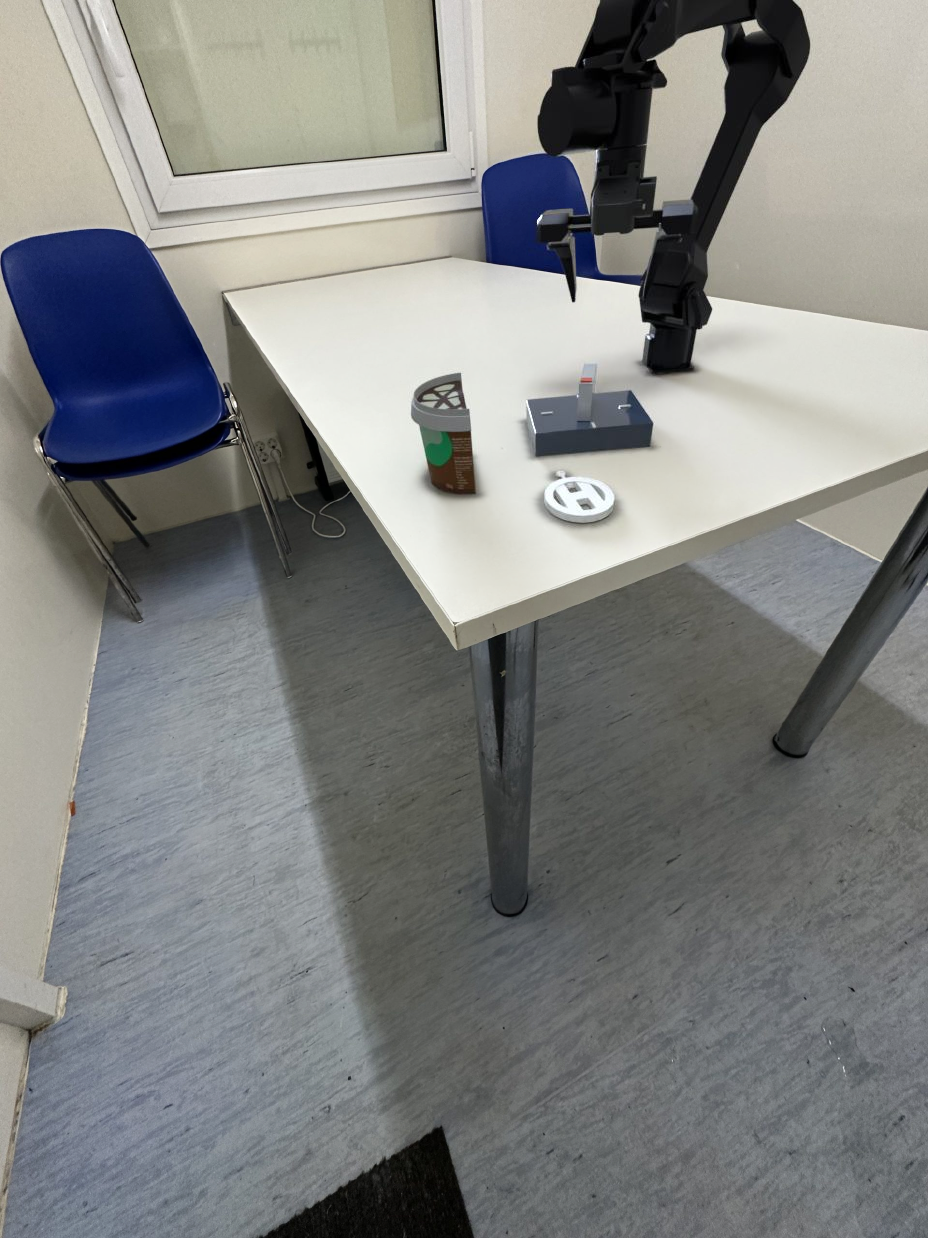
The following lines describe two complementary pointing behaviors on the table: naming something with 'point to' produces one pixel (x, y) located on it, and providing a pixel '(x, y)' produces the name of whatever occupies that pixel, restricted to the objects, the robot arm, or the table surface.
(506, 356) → the table surface
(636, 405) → the tap base
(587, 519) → the pendant
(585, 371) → the gray bar
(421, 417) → the food container
